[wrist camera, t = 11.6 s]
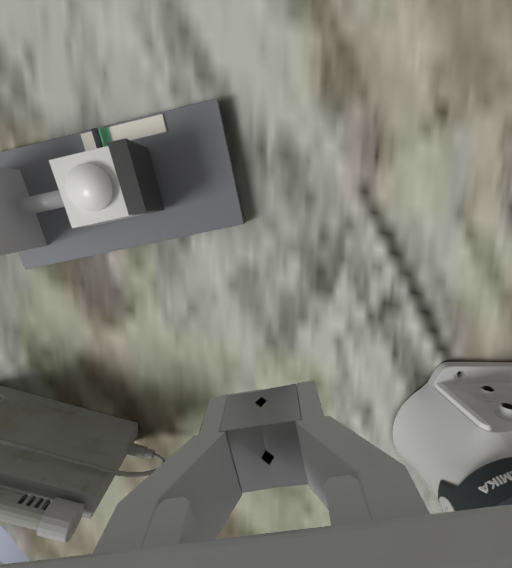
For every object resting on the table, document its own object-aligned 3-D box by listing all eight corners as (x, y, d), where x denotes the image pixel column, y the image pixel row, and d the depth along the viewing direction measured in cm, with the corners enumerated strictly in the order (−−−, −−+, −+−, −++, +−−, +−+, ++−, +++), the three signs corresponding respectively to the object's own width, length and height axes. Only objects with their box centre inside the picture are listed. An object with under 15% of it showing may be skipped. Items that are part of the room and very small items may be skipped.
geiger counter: (-143, 506, 29) (125, 575, 29) (-147, 450, 27) (138, 525, 28) (-11, 408, 42) (171, 457, 43) (-8, 367, 40) (181, 419, 41)
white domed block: (140, 118, 30) (115, 102, 25) (165, 210, 32) (146, 211, 27) (20, 148, 31) (-26, 138, 27) (51, 234, 34) (14, 240, 29)
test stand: (219, 103, 32) (198, 63, 22) (244, 222, 35) (235, 230, 25) (-7, 158, 34) (-109, 143, 25) (34, 266, 37) (-44, 288, 28)
